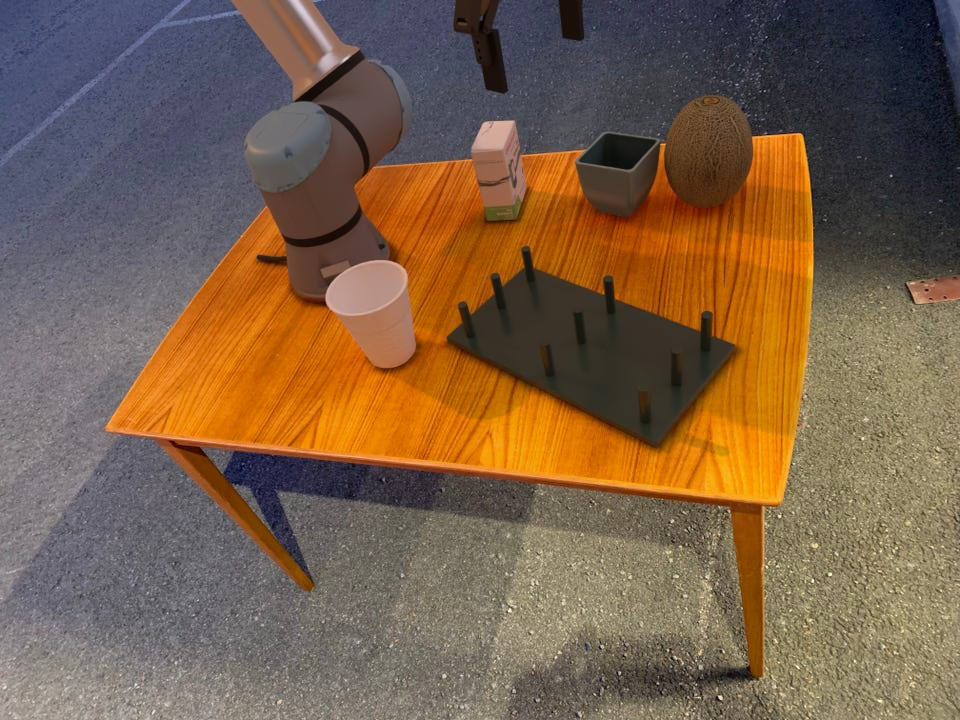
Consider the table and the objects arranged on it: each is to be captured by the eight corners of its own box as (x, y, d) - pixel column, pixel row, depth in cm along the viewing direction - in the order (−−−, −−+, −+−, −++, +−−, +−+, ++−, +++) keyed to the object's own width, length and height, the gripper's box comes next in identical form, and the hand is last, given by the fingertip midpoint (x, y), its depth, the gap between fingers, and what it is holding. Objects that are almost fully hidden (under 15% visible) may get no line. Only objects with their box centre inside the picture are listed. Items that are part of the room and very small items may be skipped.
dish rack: (447, 342, 87) (436, 307, 83) (527, 270, 94) (520, 234, 90) (656, 448, 70) (655, 410, 66) (735, 350, 77) (738, 310, 73)
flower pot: (608, 184, 105) (604, 129, 98) (663, 194, 100) (662, 137, 94) (579, 217, 100) (572, 161, 94) (635, 229, 96) (632, 172, 89)
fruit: (751, 223, 92) (760, 117, 81) (663, 226, 95) (661, 125, 84) (747, 175, 99) (755, 73, 89) (666, 180, 102) (664, 82, 92)
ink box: (517, 220, 103) (503, 149, 95) (485, 221, 104) (469, 151, 96) (527, 188, 108) (515, 117, 100) (497, 189, 110) (482, 120, 102)
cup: (342, 354, 90) (311, 289, 82) (405, 315, 93) (381, 249, 85) (379, 394, 83) (349, 328, 76) (446, 350, 86) (423, 282, 79)
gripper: (440, -122, 57) (487, 121, 71) (620, -204, 67) (628, 22, 82) (381, -121, 61) (437, 107, 76) (559, -199, 71) (577, 15, 86)
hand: (536, 63), depth 79 cm, fingers open, 13 cm apart
